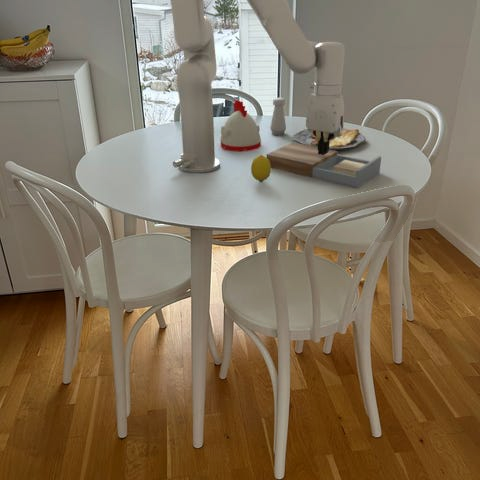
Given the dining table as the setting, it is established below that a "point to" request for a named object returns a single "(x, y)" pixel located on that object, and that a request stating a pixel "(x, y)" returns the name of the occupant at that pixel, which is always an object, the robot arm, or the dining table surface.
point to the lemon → (261, 168)
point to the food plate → (344, 141)
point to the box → (362, 174)
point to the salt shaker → (278, 117)
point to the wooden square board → (298, 158)
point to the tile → (348, 167)
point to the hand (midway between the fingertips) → (322, 153)
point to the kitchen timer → (240, 131)
